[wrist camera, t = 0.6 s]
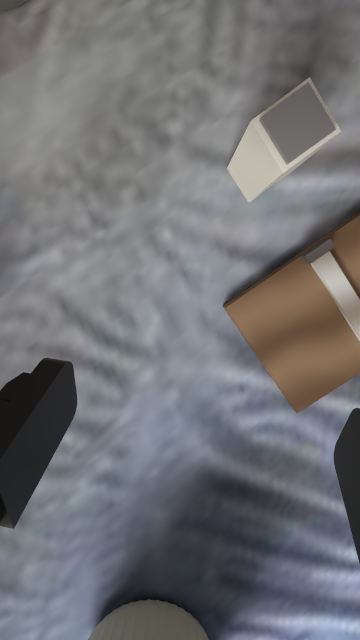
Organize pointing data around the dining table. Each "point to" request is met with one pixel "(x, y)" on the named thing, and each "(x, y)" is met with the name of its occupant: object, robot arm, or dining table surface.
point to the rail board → (307, 317)
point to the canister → (149, 623)
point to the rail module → (281, 139)
